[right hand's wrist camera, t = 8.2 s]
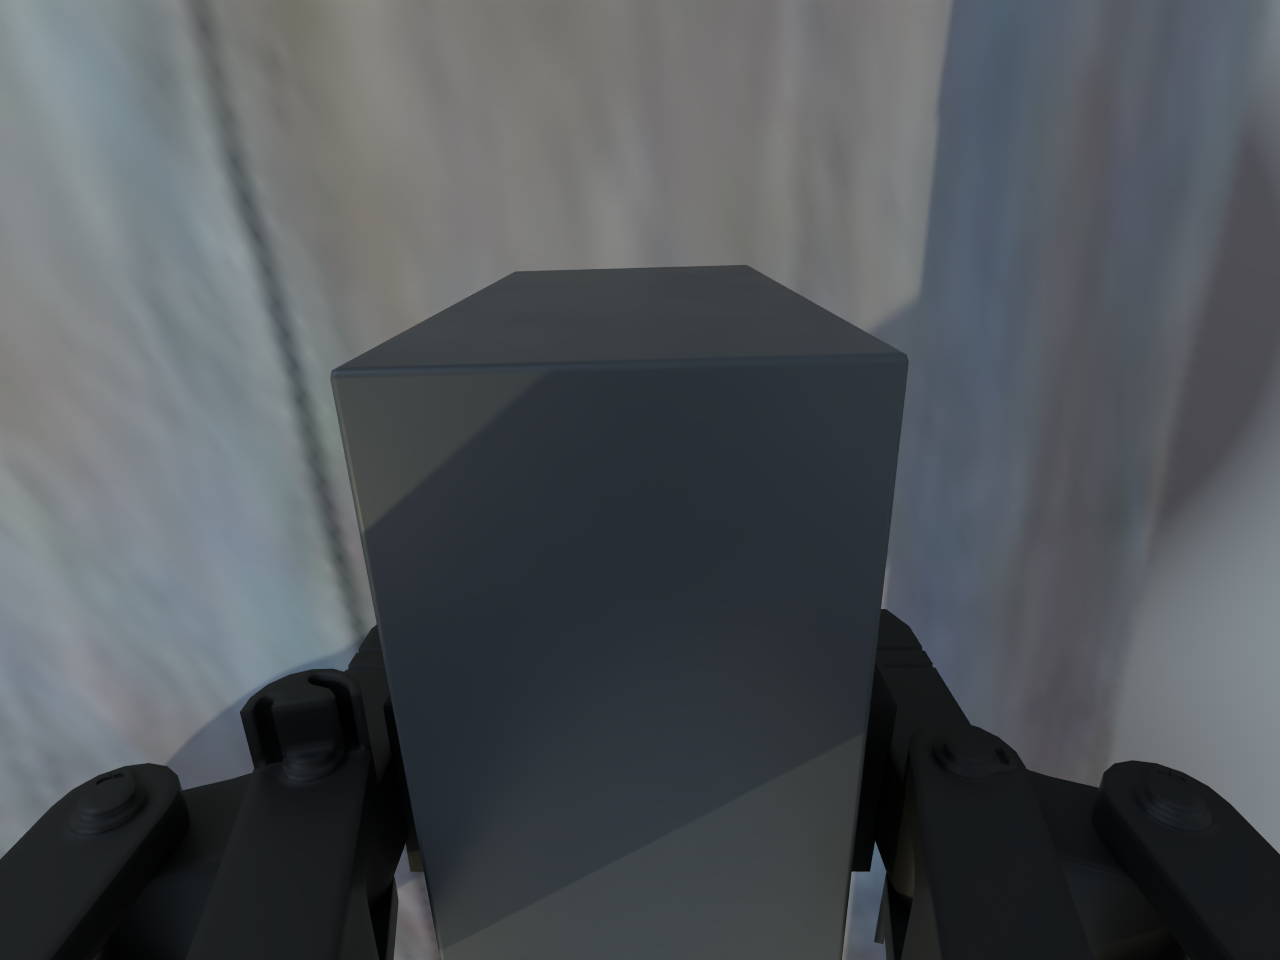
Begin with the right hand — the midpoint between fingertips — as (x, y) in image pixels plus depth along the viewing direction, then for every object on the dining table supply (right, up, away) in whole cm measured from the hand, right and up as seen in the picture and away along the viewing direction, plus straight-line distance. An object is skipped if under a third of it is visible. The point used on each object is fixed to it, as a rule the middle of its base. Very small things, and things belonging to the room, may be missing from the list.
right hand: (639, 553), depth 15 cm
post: (+1, -33, +14) cm, 36 cm away
